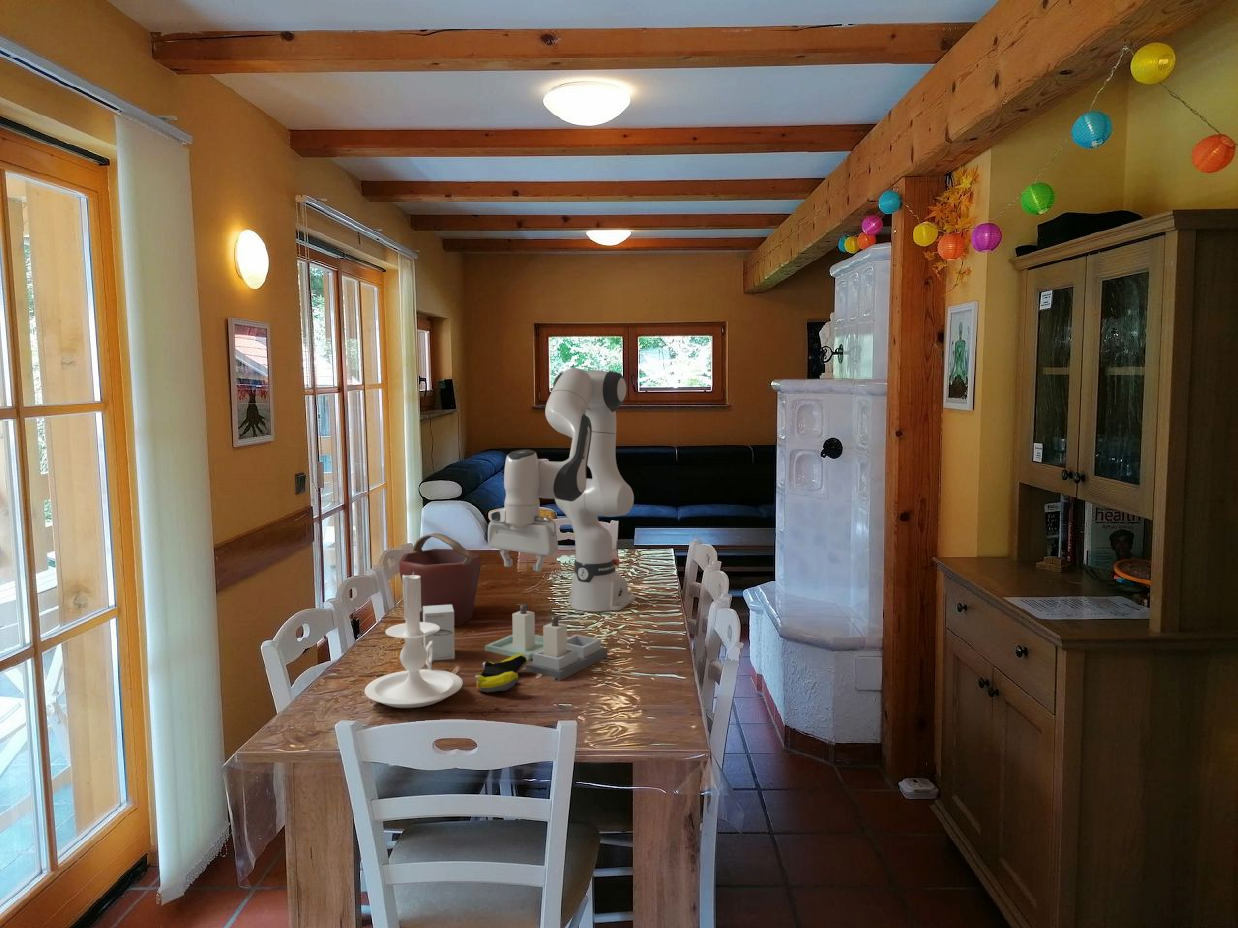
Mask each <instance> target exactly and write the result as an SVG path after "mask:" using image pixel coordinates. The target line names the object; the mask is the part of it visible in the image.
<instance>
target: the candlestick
mask: <svg viewBox="0 0 1238 928" xmlns="http://www.w3.org/2000/svg"><path fill="white" fill-rule="evenodd" d="M413 574H414V573H413ZM402 577H403V585H402V597H403V619H404V620H405V622H404V623H399V624H395V625H392V626H390V627H388V628H387V629H386V630H385V631H384V632H385V634H386V635H387V636H389V637H393V638H398V639H403V640H404V645H403V647H402V649H401V651H400V654H399V660H400V663H401V665H402V666H403V667H404V669H405V670H402V671H396V672H392V673H388V674H386V675H385V674H384V675H382V676H380V677H378V678H375V679H374V680H372V681H370V682H369V683H368V684H367V685H366V687H365V688H364V695H365V696H366V697H367V698H368V699H370V700H371V701H375V702H377V703H380V704H383V705H386V706H389V707H392V708H397V709H398V708H399V709H414V708H415V709H416V708H422V707H427V706H430V705H434V704H436V703H439V702H441V701H443V700H445V699H447V698H448V697H450V696H452V695H454V694H455V693H457V692H458V691H460V690H461V688H462V686H463V684H464V682H463V679H462V678H461V677H460V676H459V675H458V674H455V673H454V672H453V673H452V672H451V671H446V670H442V669H440V670H439V669H432V663H433V662H432V659H433V641H430V642H429V644H428V645H427V646H426V649H425V647H424V644H423V642H422V640H423V637H424V636H428V635H431V634H434V633H436V632H438V631H439V630H440V627H439V626H438V625H436V624H433V623H428V622H420V611H422V609H421V580H420V577H421V576H418V575H406V576H405V575H402ZM428 656H429V657H428ZM424 665H426V666H427V668H424V669H423V667H424Z"/></svg>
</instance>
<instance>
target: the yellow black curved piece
mask: <svg viewBox="0 0 1238 928" xmlns="http://www.w3.org/2000/svg"><path fill="white" fill-rule="evenodd" d="M527 662H528V660H526V657H525V656H524V655H523V654H517V655H514V656H509V657H508V658H505V659H503V660H502V661H500V662H496V663H494V662H491V661H483V662H482V667H483V670H482V671H481V674H476V675H474V677H475V679H476V681H475V682H476V689H477V690H478V691H479V692H482V693H483V692H486V693H494V692H507V691H508V690H509V689H511V688H512V687H513V686H515V684H516V683H517V682H518V681H519V672H520V671H522V669H523V668H524V667H525V666H526V664H528V663H527Z"/></svg>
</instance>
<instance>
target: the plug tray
mask: <svg viewBox="0 0 1238 928" xmlns="http://www.w3.org/2000/svg"><path fill="white" fill-rule="evenodd" d="M542 649H543V635H538V634H535V647H533V648H531V649H528V650H526V651H523V650H518V649H514V648H513V633H512V634H510V635H508V636H506V637H502V638H501V639H498V640H495V641H493V642H490V643H488V644H486V645H484V651H485V652H491V653H495V654H499V655H503V656H509V657H512V656H514V655H517V654H523V655H524V656H525V657H526V660H527V661H530V660H533V653H536V652H538V651H540V650H542Z"/></svg>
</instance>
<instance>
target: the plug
mask: <svg viewBox="0 0 1238 928" xmlns="http://www.w3.org/2000/svg"><path fill="white" fill-rule="evenodd" d="M519 606H520V607H519V608H520V609H519V610H518V611H517V612H513V613H512V617H511V618H512V622H511V623H512V625H511V626H512V634H513V648H514V649H518V650H523V651H526V650H528V649H531V648H533V647H535V635H536V630H535V628H536V626H535V625H536V624H535V621H536V620H535V617H536V616H535V611H534V612H533V611H529V610H527V609H528V608H527V604H520V605H519Z"/></svg>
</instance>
